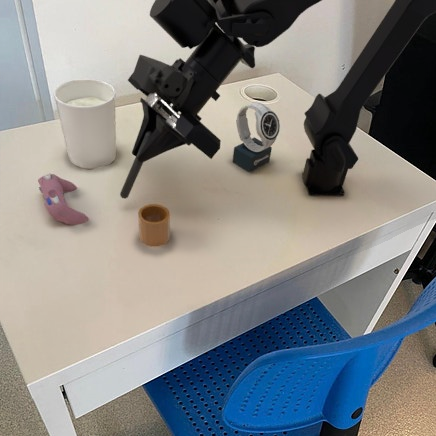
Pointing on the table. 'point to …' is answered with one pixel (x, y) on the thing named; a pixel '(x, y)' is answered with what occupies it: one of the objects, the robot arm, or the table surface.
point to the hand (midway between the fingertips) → (136, 158)
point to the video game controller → (59, 199)
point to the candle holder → (88, 121)
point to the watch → (253, 148)
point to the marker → (134, 170)
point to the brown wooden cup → (154, 225)
